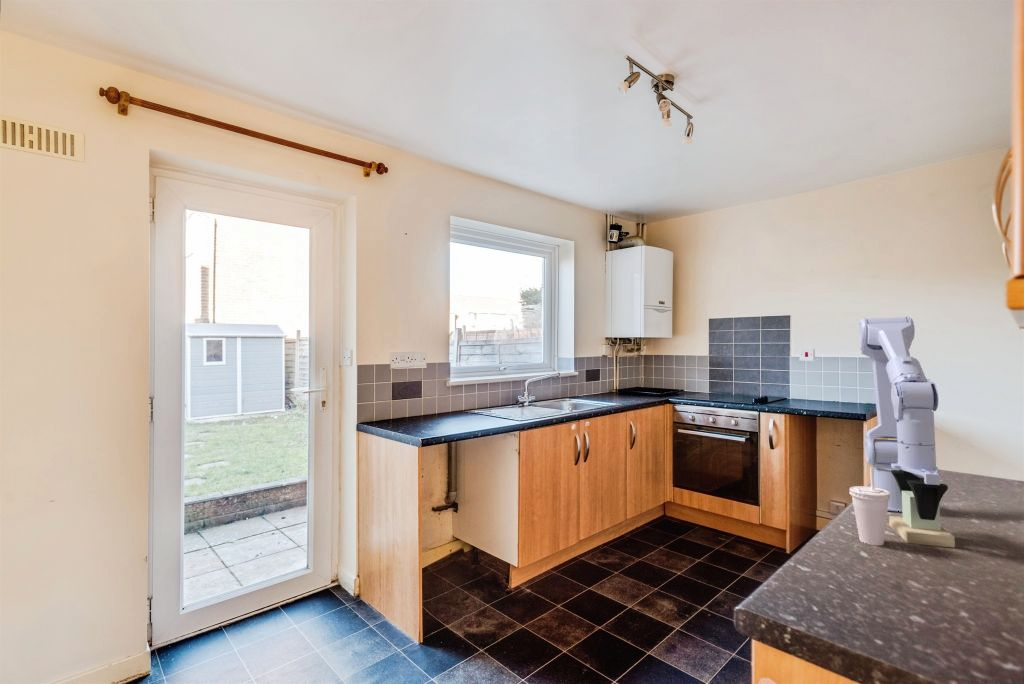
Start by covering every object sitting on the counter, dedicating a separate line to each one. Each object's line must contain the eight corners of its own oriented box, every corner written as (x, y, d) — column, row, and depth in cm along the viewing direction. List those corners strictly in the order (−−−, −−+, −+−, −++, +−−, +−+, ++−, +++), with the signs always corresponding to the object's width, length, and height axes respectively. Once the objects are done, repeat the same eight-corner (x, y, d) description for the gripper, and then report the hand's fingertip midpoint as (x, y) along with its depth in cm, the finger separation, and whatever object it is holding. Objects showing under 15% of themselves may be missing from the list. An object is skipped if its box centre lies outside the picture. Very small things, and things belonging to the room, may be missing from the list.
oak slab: (889, 525, 100) (889, 515, 100) (931, 529, 98) (931, 519, 98) (907, 542, 91) (907, 532, 91) (954, 547, 88) (954, 536, 88)
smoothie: (900, 549, 88) (897, 472, 89) (861, 547, 90) (858, 470, 90) (881, 536, 94) (878, 464, 95) (844, 534, 96) (841, 463, 96)
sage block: (902, 520, 97) (901, 490, 98) (930, 523, 96) (929, 492, 96) (911, 528, 93) (909, 496, 93) (940, 530, 91) (939, 498, 92)
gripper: (879, 436, 103) (882, 500, 103) (904, 448, 90) (907, 522, 89) (920, 437, 101) (923, 503, 100) (952, 450, 87) (956, 527, 87)
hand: (919, 513), depth 95 cm, fingers open, 7 cm apart
